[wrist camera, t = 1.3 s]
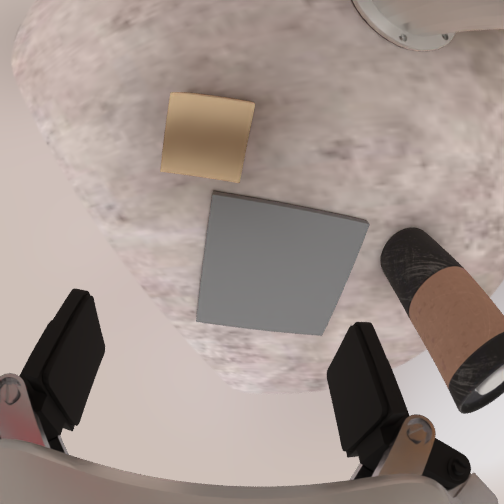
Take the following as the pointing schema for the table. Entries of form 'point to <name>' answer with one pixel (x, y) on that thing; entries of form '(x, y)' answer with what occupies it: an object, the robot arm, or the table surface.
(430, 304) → the travel mug
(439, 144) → the table surface
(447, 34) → the robot arm
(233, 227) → the charcoal mat
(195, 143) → the oak block
